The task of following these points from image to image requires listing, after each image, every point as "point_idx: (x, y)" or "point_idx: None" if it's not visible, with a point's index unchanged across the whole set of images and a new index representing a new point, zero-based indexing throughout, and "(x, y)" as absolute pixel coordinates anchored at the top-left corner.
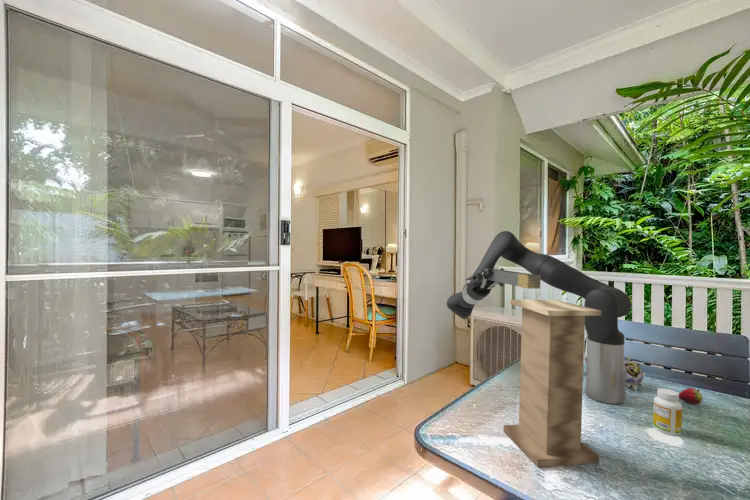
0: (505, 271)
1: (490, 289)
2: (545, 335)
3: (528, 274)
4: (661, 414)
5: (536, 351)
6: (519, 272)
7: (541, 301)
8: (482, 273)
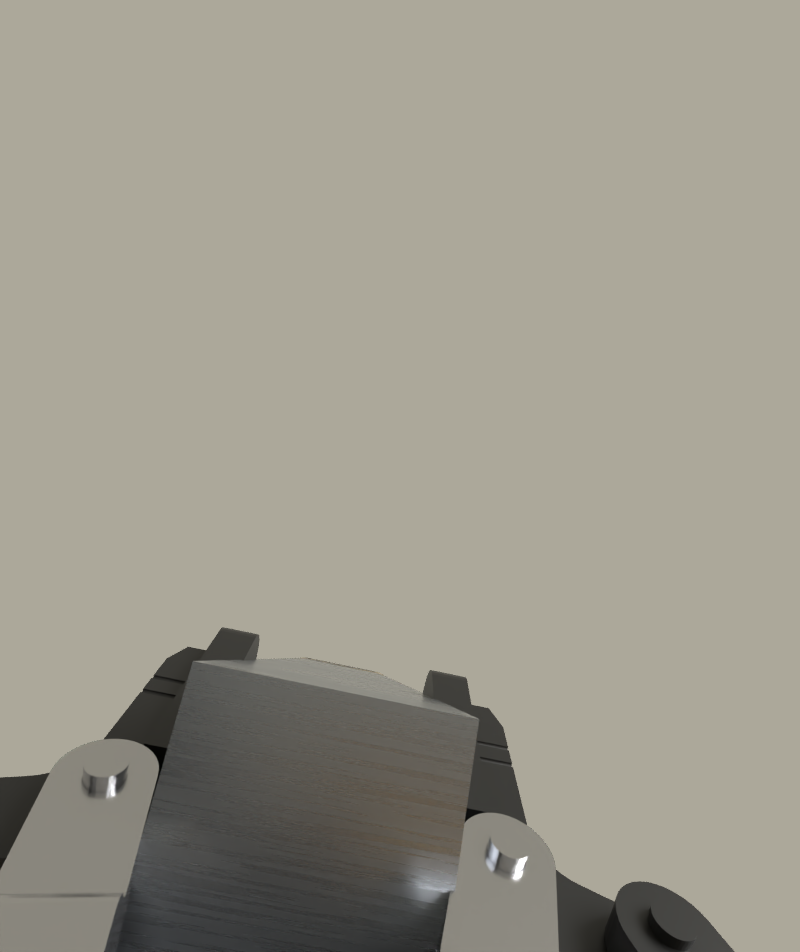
0: (372, 676)
1: None
2: None
3: (341, 665)
4: None
5: None
6: (298, 659)
7: None
8: (539, 858)
